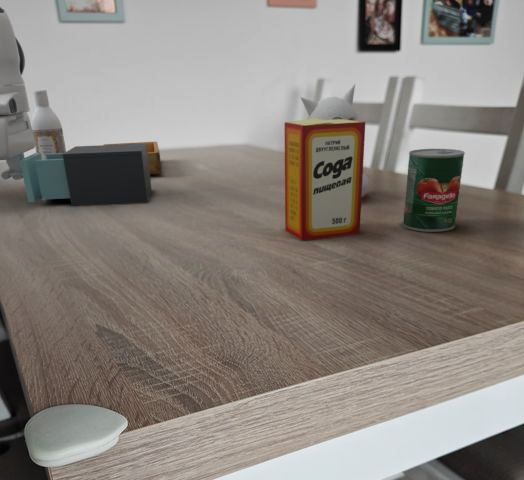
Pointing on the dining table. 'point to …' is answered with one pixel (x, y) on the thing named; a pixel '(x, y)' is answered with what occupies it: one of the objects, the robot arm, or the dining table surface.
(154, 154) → the tray
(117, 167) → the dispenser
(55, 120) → the bath foam
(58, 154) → the drawer
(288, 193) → the baking soda box
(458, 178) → the canned tomato
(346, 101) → the decorative figurine
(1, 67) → the robot arm
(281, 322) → the dining table surface
